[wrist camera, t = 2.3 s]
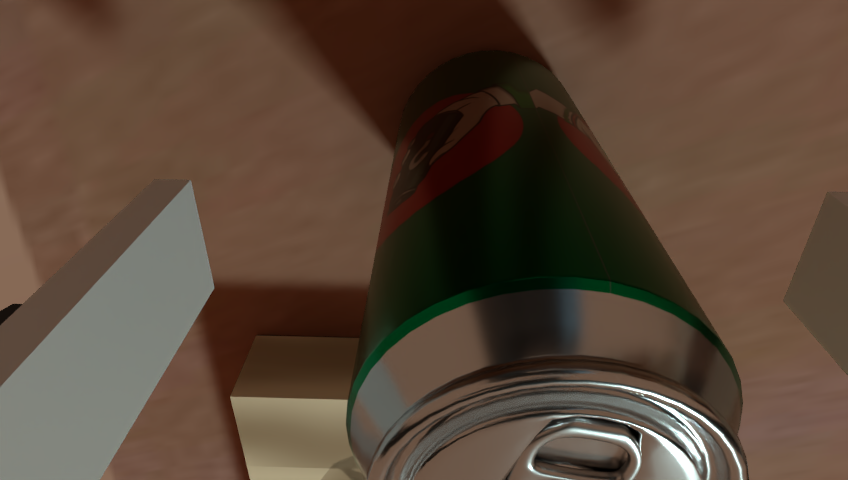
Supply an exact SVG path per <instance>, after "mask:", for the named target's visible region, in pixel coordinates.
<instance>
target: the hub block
mask: <svg viewBox="0 0 848 480" xmlns="http://www.w3.org/2000/svg"><path fill="white" fill-rule="evenodd" d="M358 343H359V338H339V337H299V336H258V335H256V337H255V339H254V341H253V344H252V346H251V348H250V351H249V353H248V356H247V358H246V360H245V363H244V365H243V367H242V370H241V372H240V374H239V377H238V379H237V381H236V384H235V386H234V389H233V391H232V393H231V396H230V399H231V403H232V407H233V411H234V415H235V419H236V423H237V427H238V432H239V436H240V440H241V444H242V448H243V452H244V456H245V461H246V465H247V469H248V473H249V477H250V480H366V479H365V477H364V476H363V474H362V472H361V471H360V469H359V467H358V466H357V464H356V461H355V459H354V456H353V454H352V451H351V449H350V446H349V442H348V436H347V429H346V413H347V401H348V396H349V390H350V385H351V380H352V375H353V369H354V364H355V359H356V353H357V348H358Z"/></svg>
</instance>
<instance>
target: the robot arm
mask: <svg viewBox="0 0 848 480" xmlns="http://www.w3.org/2000/svg"><path fill="white" fill-rule="evenodd" d="M213 290H214V283H213V279H212V274H211V270H210V265H209V260H208V256H207V251H206V247H205V242H204V238H203V233H202V229H201V224H200V220H199V215H198V211H197V206H196V201H195V197H194V192H193V188H192V183H191V180H165V179H154V180H153V181H152V182H151V183H150V184H149V185H148V186H147V187H146V188H145V189H144V190H143V191H142V192H141V193H140V194H138V195H137V196H136V197H135V198H134V199H133V200H132V201H131V202H130V203H129V204H128V205H127V206H126V207H125V208H124V209H123V210H122V211H121V212H119V213H118V214H117V215H116V216H115V217H114V218H113V219H112V220H111V221H110V222H109V223H108V224H107V225H106V226H105V227H104V228H103V229H102V230H101V231H99V232H98V233H97V234H96V235H95V236H94V237H93V238H92V239H91V240H90V241H89V242H88V243H87V244H86V245H85V246H84V247H83V248H82V249H80V250H79V251H78V252H77V253H76V254H75V255H74V256H73V257H72V258H71V259H70V260H69V261H68V262H67V263H66V264H65V265H64V266H63V267H61V268H60V269H59V270H58V271H57V272H56V273H55V274H54V275H53V276H52V277H51V278H50V279H49V280H48V281H47V282H46V283H45V284H44V285H42V286H41V287H40V288H39V289H38V290H37V291H36V292H35V293H34V294H33V295H32V296H31V297H30V298H29V299H28V300H27V301H26V302H25V303H23V304H12V305H10V306H8V307H7V308H5V309H3V310H1V311H0V480H100V479H101V477H102V475H103V474H104V472H105V470H106V469H107V467H108V465H109V464H110V462H111V460H112V459H113V457H114V455H115V454H116V452H117V450H118V449H119V447H120V445H121V444H122V442H123V440H124V439H125V437H126V435H127V433H128V432H129V430H130V428H131V427H132V425H133V423H134V422H135V420H136V418H137V417H138V415H139V413H140V412H141V410H142V408H143V407H144V405H145V403H146V402H147V400H148V398H149V397H150V395H151V393H152V392H153V390H154V388H155V387H156V385H157V383H158V382H159V380H160V378H161V377H162V375H163V373H164V372H165V370H166V368H167V367H168V365H169V363H170V362H171V360H172V358H173V357H174V355H175V353H176V352H177V350H178V348H179V347H180V345H181V343H182V342H183V340H184V338H185V336H186V335H187V333H188V331H189V330H190V328H191V326H192V325H193V323H194V321H195V320H196V318H197V316H198V315H199V313H200V311H201V310H202V308H203V306H204V305H205V303H206V301H207V300H208V298H209V296H210V295H211V293H212V291H213ZM783 301H784V302H785V303H786V305H787V306H788V307H789V308H790V309H791V310H792V311H793V313H794V314H795V315H796V316H797V317H798V318H799V320H800V321H801V322H802V323H803V324H804V325H805V327H806V328H807V329H808V330H809V331H810V332H811V334H812V335H813V336H814V337H815V338H816V339H817V340H818V342H819V343H820V344H821V345H822V346H823V347H824V349H825V350H826V351H827V352H828V353H829V354H830V356H831V357H832V358H833V359H834V360H835V361H836V363H837V364H838V365H839V366H840V367H841V368H842V369H843V371H844V372H845V373H846V374H847V375H848V192H827V194H826V197H825V199H824V202H823V204H822V207H821V209H820V211H819V214H818V216H817V219H816V221H815V224H814V226H813V229H812V231H811V234H810V236H809V239H808V241H807V243H806V246H805V248H804V251H803V253H802V256H801V258H800V261H799V263H798V266H797V268H796V271H795V273H794V275H793V278H792V280H791V283H790V285H789V288H788V290H787V293H786V295H785V298H784V300H783Z"/></svg>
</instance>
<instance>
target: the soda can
mask: <svg viewBox="0 0 848 480" xmlns="http://www.w3.org/2000/svg"><path fill="white" fill-rule="evenodd" d="M742 406H743V399H742V389H741V380H740V377H739V375H738V372H737V369H736V367H735V364H734V361H733V358H732V356H731V355H730V353H729V352H728V350H727V348H726V347H725V345H724V344H723V342H722V340H721V339H720V337H719V336H718V334H717V332H716V331H715V329H714V327H713V326H712V324H711V323H710V321H709V319H708V318H707V316H706V315H705V313H704V311H703V310H702V308H701V307H700V305H699V303H698V302H697V300H696V299H695V297H694V295H693V294H692V292H691V291H690V289H689V287H688V286H687V284H686V282H685V281H684V279H683V278H682V276H681V274H680V273H679V271H678V270H677V268H676V266H675V265H674V263H673V262H672V260H671V258H670V257H669V255H668V254H667V252H666V250H665V249H664V247H663V245H662V244H661V242H660V241H659V239H658V237H657V236H656V234H655V233H654V231H653V229H652V228H651V226H650V225H649V223H648V221H647V220H646V218H645V217H644V215H643V213H642V212H641V210H640V209H639V207H638V205H637V204H636V202H635V200H634V199H633V197H632V196H631V194H630V192H629V191H628V189H627V188H626V186H625V184H624V183H623V181H622V180H621V178H620V176H619V175H618V173H617V172H616V170H615V168H614V167H613V165H612V163H611V162H610V160H609V159H608V157H607V155H606V154H605V152H604V151H603V149H602V147H601V146H600V144H599V143H598V141H597V139H596V138H595V136H594V135H593V133H592V131H591V130H590V128H589V126H588V125H587V123H586V122H585V120H584V118H583V117H582V115H581V114H580V112H579V110H578V109H577V107H576V106H575V104H574V102H573V101H572V99H571V98H570V96H569V94H568V93H567V91H566V90H565V88H564V87H563V85H562V84H561V82H560V81H559V80H558V79H557V78H556V77H555V76H554V75H553V74H552V73H551V72H550V71H549V70H548V69H546V68H545V67H543V66H542V65H541V64H539V63H537V62H536V61H534V60H532V59H530V58H528V57H525V56H522V55H519V54H515V53H512V52H505V51H479V52H474V53H468V54H465V55H462V56H459V57H457V58H454V59H452V60H450V61H448V62H446V63H444V64H442V65H441V66H439V67H438V68H436V69H435V70H434V71H432V72H431V73H430V74H429V75H427V76H426V78H425V79H424V80H423V81H422V82H421V83H420V84H419V85H418V86H417V88H416V89H415V91H414V92H413V93H412V95H411V96H410V98H409V100H408V102H407V104H406V107H405V109H404V111H403V115H402V118H401V122H400V127H399V132H398V137H397V142H396V148H395V153H394V158H393V164H392V169H391V174H390V179H389V185H388V190H387V195H386V200H385V206H384V211H383V216H382V222H381V227H380V232H379V237H378V243H377V248H376V253H375V258H374V264H373V269H372V274H371V280H370V285H369V290H368V295H367V301H366V306H365V311H364V317H363V322H362V327H361V332H360V338H359V343H358V348H357V353H356V359H355V364H354V369H353V375H352V380H351V385H350V390H349V396H348V401H347V413H346V429H347V436H348V442H349V446H350V449H351V451H352V454H353V456H354V459H355V461H356V464H357V466H358V467H359V469H360V471H361V472H362V474H363V476H364V477H365V479H366V480H749V475H748V466H747V459H746V455H745V453H744V450H743V448H742V445H741V442H740V440H739V437H738V436H737V435H738V431H739V427H740V421H741V414H742Z"/></svg>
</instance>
